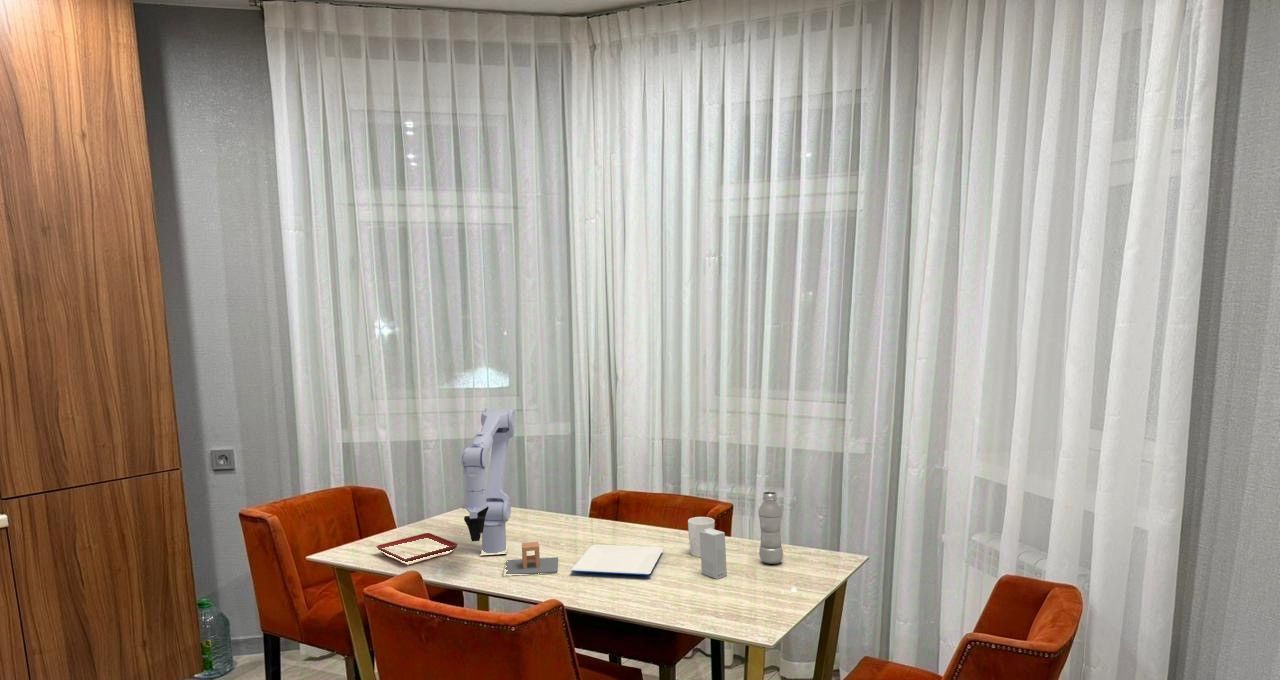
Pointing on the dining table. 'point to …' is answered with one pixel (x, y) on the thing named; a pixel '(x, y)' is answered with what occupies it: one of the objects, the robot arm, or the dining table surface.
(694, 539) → the white cup
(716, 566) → the skincare box
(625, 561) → the plate
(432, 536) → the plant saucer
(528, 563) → the rubber mat
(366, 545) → the dining table surface
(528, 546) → the notched tan cube
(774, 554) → the plastic bottle
